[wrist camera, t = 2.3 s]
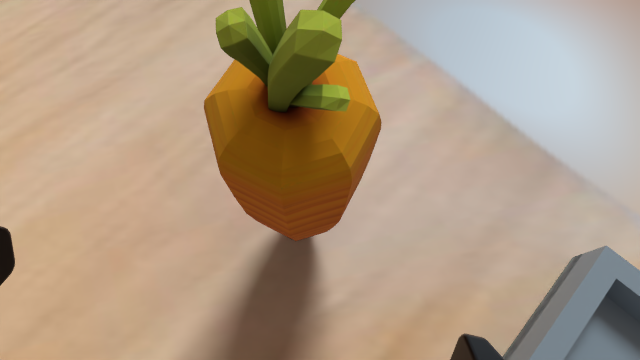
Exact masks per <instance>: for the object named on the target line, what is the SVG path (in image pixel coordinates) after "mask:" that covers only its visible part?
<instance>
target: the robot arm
mask: <svg viewBox="0 0 640 360" xmlns="http://www.w3.org/2000/svg"><path fill="white" fill-rule="evenodd" d="M14 266H15V258H14V252H13V245H12V239H11V234H10V232H9V231H8V229H6V228H4V227H1V226H0V285H1V284H2V283H3V282H4V281H5V280H6V279H7V278H8V277H9V275H10V274H11V273H12V271H13V269H14ZM450 360H504V359H503V358H502V356H501V355H500V354H499V353H498V352H497V351H496V350H495V349H494V347H493V346H492V345H491V344H490V343H489V342H488V341H487V340H486V339H484V338H482V337H478V336H474V335H469V334H462V335H461V336H460V337H459V339H458V341H457V344H456V347H455V349H454V352H453V354H452V357H451V359H450Z"/></svg>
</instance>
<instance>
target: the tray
mask: <svg viewBox="0 0 640 360" xmlns="http://www.w3.org/2000/svg"><path fill="white" fill-rule="evenodd" d="M502 358H503V359H504V360H640V271H639V270H638V269H637V268H635V267H634V266H633V265H631V264H630V263H629V262H627V261H626V260H625V259H623V258H622V257H621V256H620V255H618V254H617V253H616V252H614V251H613V250H612V249H610V248H609V247H608V246H604V247H601V248H598V249H595V250H593V251H590V252H587V253H584V254H581V255H578V256H575V257H573V258H572V259H571V261H570V262H569V264H568V265H567V266H566V268H565V269H564V271H563V272H562V273H561V275H560V276H559V278H558V279H557V281H556V282H555V283H554V285H553V286H552V288H551V289H550V290H549V292H548V293H547V295H546V296H545V298H544V299H543V300H542V302H541V303H540V305H539V306H538V308H537V309H536V310H535V312H534V313H533V315H532V316H531V317H530V319H529V320H528V322H527V323H526V325H525V326H524V327H523V329H522V330H521V332H520V333H519V335H518V336H517V337H516V339H515V340H514V342H513V343H512V344H511V346H510V347H509V349H508V350H507V352H506V353H505V354H504V356H503V357H502Z"/></svg>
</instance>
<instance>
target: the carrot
mask: <svg viewBox="0 0 640 360" xmlns="http://www.w3.org/2000/svg"><path fill="white" fill-rule="evenodd" d="M354 1H355V0H323V1H322V3H321V5H320V6H319V8H318V9H317V10H300V12H299V13H298V14H297V16H296V17H295V18H294V20H293V21H292V22H291V24H290V25H289V27H288V28H287V29H286V22H285V15H284V7H283V0H250V4H251V7H252V11H253V14H254V18H255V21H256V25H257V27H256V25H255V24H254V22H253V21H252V19H251V18H250V16H249V15H248V14H247V13H246V12H245V10H244V9H243V8H242V7H240V8H236V9H231V10H227V11H226V12H224V13H223V14H221V15H220V16H218V17H217V18H216V34H217V37H218V41H219V44H220V47H221V49H222V50H223V51H224V52H225V53H227V54H228V55H229V56H230V57H232V58H234V59H235V60H234V61H233V63H232V64H231V65H230V67H229V68H228V69H227V71H226V72H225V73H224V75H223V76H222V77H221V79H220V80H219V82H218V83H217V84H216V86H215V87H214V88H213V90H212V91H211V92H210V94H209V95H208V96H207V98H206V99H205V101H204V110H205V114H206V118H207V123H208V127H209V131H210V135H211V139H212V143H213V147H214V151H215V155H216V159H217V163H218V167H219V171H220V174H221V176H222V177H223V179H224V181H225V182H226V184H227V185H228V187H229V189H230V190H231V192H232V194H233V195H234V197H235V198H236V200H237V201H238V202H239V204H240V205H241V206H242V208H243V209H244V211H245V212H246V213H247V214H248V215H250V216H251V217H252V218H254V219H255V220H257V221H258V222H260V223H262V224H264V225H266V226H267V227H269V228H271V229H273V230H275V231H277V232H279V233H281V234H283V235H285V236H287V237H289V238H291V239H293V240H295V241H298V240H301V239H304V238H308V237H311V236H314V235H317V234H321V233H324V232H327V231H328V230H330V229H331V228H333V227H334V226H335V225H336V224H337V223H338V222H339V221H340V219H341V217H342V215H343V213H344V211H345V209H346V207H347V205H348V203H349V201H350V199H351V198H352V196H353V194H354V192H355V190H356V188H357V186H358V184H359V182H360V180H361V178H362V176H363V173H364V171H365V169H366V166H367V164H368V162H369V160H370V157H371V154H372V152H373V149H374V146H375V143H376V141H377V138H378V135H379V132H380V130H381V119H380V115H379V112H378V110H377V108H376V106H375V103H374V101H373V99H372V96H371V94H370V92H369V89H368V87H367V85H366V83H365V80H364V78H363V76H362V73H361V71H360V69H359V66H358V64H357V62H356V61H353V60H351V59H349V58H346V57H344V56H342V55H339V54H337V53H338V50H339V47H340V44H341V41H342V28H341V20H340V18H341V17H342V15H343V14H344V13H345V12H346V10H347V9H348V8H349V7H350V5H351V4H352V3H353V2H354ZM257 28H258V29H257Z"/></svg>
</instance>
